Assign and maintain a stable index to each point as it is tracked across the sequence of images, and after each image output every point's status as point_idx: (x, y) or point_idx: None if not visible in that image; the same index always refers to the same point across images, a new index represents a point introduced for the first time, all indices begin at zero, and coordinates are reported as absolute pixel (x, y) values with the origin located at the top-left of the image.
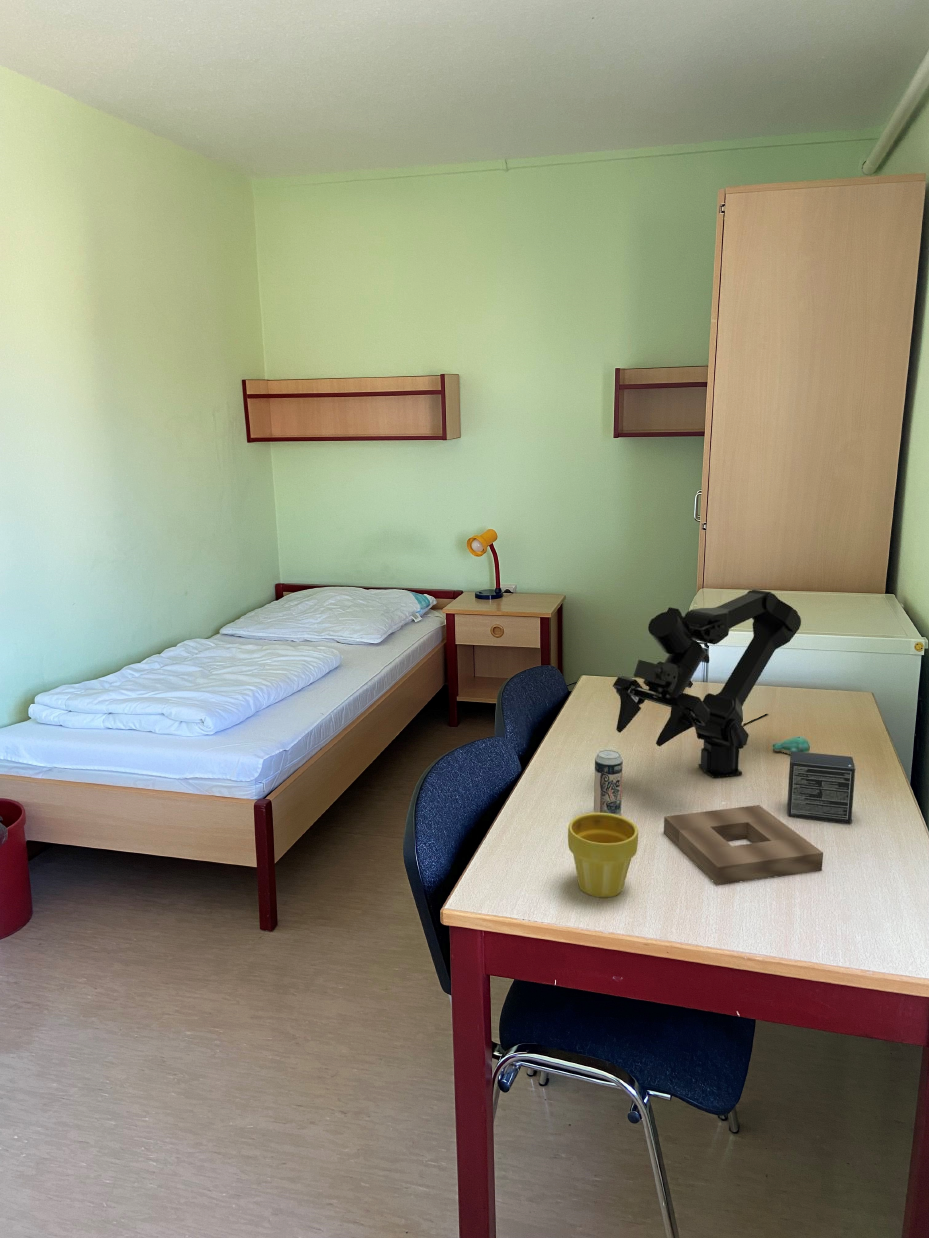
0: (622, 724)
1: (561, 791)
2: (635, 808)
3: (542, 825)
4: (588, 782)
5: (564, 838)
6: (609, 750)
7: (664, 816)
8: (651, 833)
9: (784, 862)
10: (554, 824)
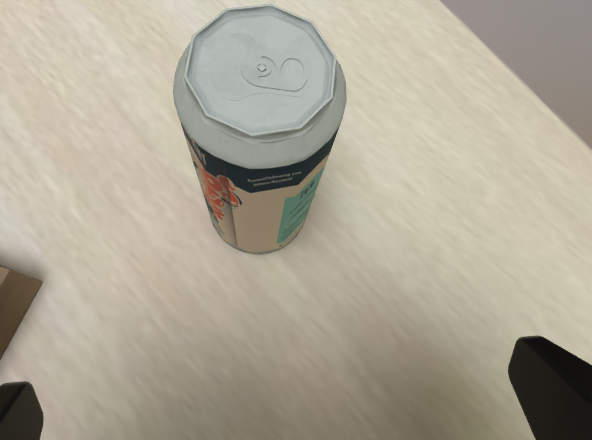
0: (562, 412)
1: (511, 227)
2: (251, 347)
3: (333, 27)
4: None
5: None
6: (314, 118)
7: (8, 270)
8: (71, 243)
9: None
10: None
